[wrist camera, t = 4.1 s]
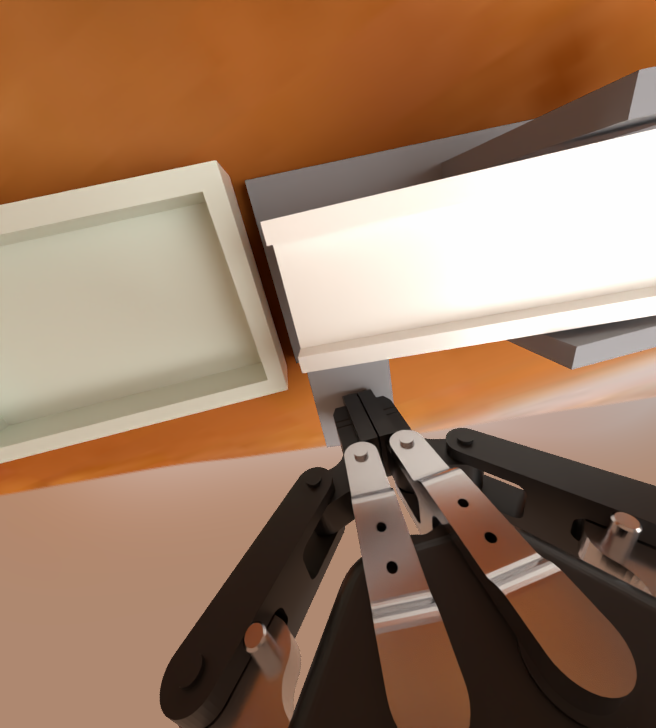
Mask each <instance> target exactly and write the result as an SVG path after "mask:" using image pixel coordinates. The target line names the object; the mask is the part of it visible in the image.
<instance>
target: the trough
mask: <svg viewBox="0 0 656 728" xmlns="http://www.w3.org/2000/svg"><path fill="white" fill-rule="evenodd" d="M260 223H261V227H262V230H263V234H264V237H265V241H266V245H267V246H270V245H273V247H274V251H275V255H276V259H277V262H278V266H279V270H280V273H281V277H282V281H283V285H284V288H285V292H286V296H287V300H288V303H289V307H290V311H291V314H292V318H293V322H294V326H295V329H296V333H297V337H298V340H299V344H300V348H301V349H300V352H299V356H298V360H299V363H300V367H301V370H302V373H307V374H308V378H309V381H310V385H311V389H312V393H313V396H314V400H315V404H316V407H317V411H318V415H319V419H320V422H321V426H322V430H323V433H324V437H325V441H326V445H327V447H333V446H341V445H340V441H339V438H338V434H337V430H336V426H335V421H334V417H333V414H334V411H335V408H339V407H342V406H344V403H343V398H342V396H346V395H350V394H353V393H356V394H357V392H361V391H365V390H368V389H371V390H372V392H373V393H374V395H375V397H380V396H385V397H387V398H388V399H390V400H391V401H392V402H393V394H392V385H391V377H390V368H389V359H392V358H398V357H404V356H410V355H417V354H423V353H429V352H435V351H441V350H447V349H453V348H459V347H465V346H471V345H477V344H483V343H490V342H496V341H502V340H508V339H514V338H520V337H526V336H532V335H538V334H544V333H550V332H556V331H562V330H569V329H575V328H581V327H587V326H593V325H599V324H605V323H611V322H617V321H623V320H629V319H635V318H642V317H648V316H654V315H656V129H653V130H649V131H644V132H640V133H636V134H632V135H627V136H623V137H619V138H615V139H610V140H606V141H602V142H598V143H593V144H589V145H585V146H581V147H576V148H572V149H568V150H564V151H559V152H555V153H551V154H547V155H542V156H538V157H534V158H530V159H525V160H521V161H517V162H513V163H508V164H504V165H500V166H496V167H491V168H487V169H483V170H479V171H474V172H470V173H466V174H462V175H457V176H453V177H449V178H445V179H441V180H436V181H432V182H428V183H424V184H419V185H415V186H411V187H407V188H402V189H398V190H394V191H390V192H385V193H381V194H377V195H373V196H368V197H364V198H360V199H356V200H351V201H347V202H343V203H339V204H334V205H330V206H326V207H322V208H317V209H313V210H309V211H305V212H300V213H296V214H292V215H288V216H283V217H279V218H275V219H271V220H266V221H262V222H260ZM393 404H394V403H393Z"/></svg>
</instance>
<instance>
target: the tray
mask: <svg viewBox="0 0 656 728" xmlns="http://www.w3.org/2000/svg"><path fill="white" fill-rule="evenodd" d="M285 390H288V376H287V364H286V361H285V358H284V354H283V351H282V348H281V345H280V341H279V338H278V335H277V331H276V328H275V325H274V321H273V318H272V315H271V311H270V308H269V305H268V302H267V298H266V295H265V292H264V288H263V285H262V282H261V278H260V275H259V272H258V269H257V265H256V262H255V259H254V255H253V252H252V249H251V245H250V242H249V239H248V236H247V232H246V229H245V226H244V222H243V219H242V216H241V212H240V209H239V206H238V202H237V199H236V196H235V193H234V189H233V186H232V183H231V179H230V176H229V175H228V174H227V173H226V172H225V170H224V169H223V168H222V167H221V166H220V164H219V163H218V162H217V161H216V160H215V161H210V162H205V163H200V164H195V165H190V166H186V167H181V168H176V169H171V170H166V171H162V172H157V173H152V174H147V175H142V176H138V177H133V178H128V179H123V180H118V181H113V182H109V183H104V184H99V185H94V186H89V187H85V188H80V189H75V190H70V191H65V192H60V193H56V194H51V195H46V196H41V197H36V198H32V199H27V200H22V201H17V202H12V203H7V204H3V205H0V463H4V462H8V461H12V460H16V459H20V458H24V457H27V456H31V455H35V454H39V453H43V452H47V451H51V450H55V449H59V448H62V447H66V446H70V445H74V444H78V443H82V442H86V441H90V440H94V439H98V438H101V437H105V436H109V435H113V434H117V433H121V432H125V431H129V430H133V429H137V428H140V427H144V426H148V425H152V424H156V423H160V422H164V421H168V420H172V419H175V418H179V417H183V416H187V415H191V414H195V413H199V412H203V411H207V410H211V409H214V408H218V407H222V406H226V405H230V404H234V403H238V402H242V401H246V400H250V399H253V398H257V397H261V396H265V395H269V394H273V393H277V392H281V391H285Z"/></svg>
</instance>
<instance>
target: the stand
mask: <svg viewBox="0 0 656 728" xmlns="http://www.w3.org/2000/svg"><path fill="white" fill-rule="evenodd" d="M653 129H656V67H651V68H646V69H642V70H638V71H636V72H634V73H632V74H630V75H627V76H625V77H623V78H621V79H619V80H617V81H615V82H613V83H610V84H608V85H606V86H604V87H602V88H600V89H598V90H596V91H593V92H591V93H589V94H587V95H585V96H583V97H581V98H579V99H576V100H574V101H572V102H570V103H568V104H566V105H564V106H561V107H559V108H557V109H555V110H553V111H551V112H549V113H547V114H544V115H542V116H540V117H538V118H536V119H532V120H527V121H523V122H518V123H513V124H508V125H504V126H499V127H494V128H490V129H485V130H480V131H476V132H471V133H466V134H462V135H457V136H452V137H447V138H443V139H438V140H433V141H429V142H424V143H419V144H415V145H410V146H405V147H400V148H396V149H391V150H386V151H382V152H377V153H372V154H368V155H363V156H358V157H353V158H349V159H344V160H339V161H335V162H330V163H325V164H321V165H316V166H311V167H307V168H302V169H297V170H292V171H288V172H283V173H278V174H274V175H269V176H264V177H260V178H255V179H250V180H245V183H246V187H247V190H248V194H249V197H250V201H251V205H252V208H253V212H254V215H255V219H256V222H257V226H258V229H259V233H260V236H261V240H262V243H263V247H264V250H265V254H266V257H267V261H268V264H269V268H270V271H271V275H272V279H273V282H274V286H275V289H276V293H277V296H278V300H279V303H280V307H281V310H282V314H283V317H284V321H285V324H286V328H287V331H288V335H289V338H290V342H291V346H292V349H293V353H294V356H295V360H296V363H299V360H298V356H299V352H300V349H301V348H300V344H299V340H298V337H297V333H296V329H295V326H294V322H293V318H292V314H291V311H290V307H289V303H288V300H287V296H286V292H285V288H284V285H283V281H282V277H281V273H280V270H279V266H278V262H277V259H276V255H275V251H274V247H273V245H270V246H267V245H266V241H265V237H264V234H263V230H262V227H261V223H260V222H262V221H266V220H271V219H275V218H279V217H283V216H288V215H292V214H296V213H300V212H305V211H309V210H313V209H317V208H322V207H326V206H330V205H334V204H339V203H343V202H347V201H351V200H356V199H360V198H364V197H368V196H373V195H377V194H381V193H385V192H390V191H394V190H398V189H402V188H407V187H411V186H415V185H419V184H424V183H428V182H432V181H436V180H441V179H445V178H449V177H453V176H457V175H462V174H466V173H470V172H474V171H479V170H483V169H487V168H491V167H496V166H500V165H504V164H508V163H513V162H517V161H521V160H525V159H530V158H534V157H538V156H542V155H547V154H551V153H555V152H559V151H564V150H568V149H572V148H576V147H581V146H585V145H589V144H593V143H598V142H602V141H606V140H610V139H615V138H619V137H623V136H627V135H632V134H636V133H640V132H644V131H649V130H653ZM507 341H510V342H512V343H514V344H516V345H518V346H521V347H523V348H525V349H527V350H530V351H532V352H534V353H536V354H538V355H541V356H543V357H545V358H547V359H549V360H552V361H554V362H556V363H558V364H561V365H563V366H565V367H567V368H569V369H575V368H579V367H583V366H587V365H590V364H594V363H598V362H602V361H605V360H609V359H613V358H617V357H620V356H624V355H628V354H631V353H635V352H639V351H643V350H646V349H650V348H654V347H656V315H654V316H648V317H642V318H635V319H629V320H623V321H617V322H611V323H605V324H599V325H593V326H587V327H581V328H575V329H569V330H562V331H556V332H550V333H544V334H538V335H532V336H526V337H520V338H514V339H508V340H507Z"/></svg>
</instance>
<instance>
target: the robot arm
mask: <svg viewBox="0 0 656 728" xmlns="http://www.w3.org/2000/svg"><path fill="white" fill-rule="evenodd" d="M342 398H343V403H344V406H342V407H339V408H335V411H334V414H333V417H334V421H335V426H336V430H337V434H338V438H339V441H340V445H341V448H342V452H343V457H342V460H341V461H340V462H339V463H338V464H337V465H336V466H335V467H334V468H332V469H330V470H327V469H325V468H321V467H315V468H311V469H309V470H307V471H305V472H304V473H303V474H302V475H301V476H300V477H299V479H298V480H297V481H296V483H295V484H294V485H293V487H292V488H291V490H290V491H289V493H288V494H287V495H286V497H285V498H284V500H283V501H282V503H281V504H280V505H279V507H278V508H277V510H276V511H275V512H274V514H273V515H272V517H271V518H270V520H269V521H268V522H267V524H266V525H265V527H264V528H263V530H262V531H261V532H260V534H259V535H258V537H257V538H256V539H255V541H254V542H253V544H252V545H251V547H250V548H249V550H248V551H247V552H246V554H245V555H244V556H243V558H242V559H241V561H240V562H239V564H238V565H237V566H236V568H235V569H234V571H233V572H232V573H231V575H230V576H229V578H228V579H227V580H226V582H225V583H224V585H223V586H222V588H221V589H220V590H219V592H218V593H217V595H216V596H215V598H214V599H213V600H212V602H211V603H210V605H209V606H208V607H207V609H206V610H205V612H204V613H203V615H202V616H201V617H200V619H199V620H198V622H197V623H196V624H195V626H194V627H193V629H192V630H191V631H190V633H189V634H188V636H187V637H186V639H185V640H184V641H183V643H182V644H181V646H180V647H179V649H178V650H177V651H176V653H175V654H174V656H173V657H172V659H171V661H170V663H169V664H168V666H167V669H166V671H165V674H164V676H163V680H162V683H161V688H160V705H161V709H162V711H163V713H164V714H165V716H166V717H168V718H169V719H171V720H172V721H173V722H175V723H176V724H178V726H179V728H656V486H654V485H651V484H647V483H644V482H641V481H637V480H634V479H631V478H628V477H624V476H621V475H618V474H614V473H611V472H608V471H605V470H601V469H598V468H595V467H592V466H588V465H585V464H581V463H579V462H576V461H572V460H569V459H566V458H563V457H559V456H556V455H553V454H550V453H546V452H543V451H540V450H536V449H533V448H530V447H527V446H523V445H520V444H517V443H514V442H510V441H507V440H504V439H500V438H497V437H494V436H491V435H487V434H484V433H481V432H478V431H474V430H471V429H467V428H457V429H453V430H451V431H449V432H448V433H447V435H446V439H426V438H423V437H422V436H421V435H420V434H419V433H418V432H415V431H412V430H411V429H410V427H409V426H408V424H407V423H406V421H405V420H404V418H403V417H402V416H401V414H400V413H399V412H398V410H397V408H396V407H395V405H394V404H393V402H392V401H391V400H390V399H388V398H387V397H385V396H380V397H375V395H374V393H373V392H372V390H371V389H368V390H365V391H361V392H357V394H356V393H353V394H350V395H346V396H342ZM484 472H487V473H489V474H492V475H494V476H497V477H499V478H502V479H505V480H507V481H510V482H512V483H515V484H517V485H519V486H520V487H521V488H523V489H524V490H521V489H518V488H516V487H514V486H511V485H509V484H506V483H504V482H501V481H499V480H496V479H494V478H491V477H489V476H486V475H484ZM391 475H392V476H393V478H394V480H395V484H396V490H397V493H398V494H399V496H400V498H401V500H402V501H403V503H404V505H405V507H406V509H407V510H408V512H409V514H410V516H411V517H412V519H413V521H414V523H415V525H416V526H417V528H418V530H419V532H420V535H410V534H409V531H408V528H407V525H406V523H405V520H404V517H403V514H402V511H401V509H400V506H399V503H398V500H397V498H396V495H395V492H394V490H393V488H391V487H390V484H389V482H388V479H387V477H388V476H391ZM354 519H355V522H356V527H357V532H358V538H359V544H360V549H361V555H362V557H361V558H360V559H359V560H358V561H357V562H356V563H355V564H354V565H353V566H352V567H351V568H350V570H349V571H348V573H347V574H346V576H345V578H344V580H343V582H342V584H341V587H340V589H339V592H338V594H337V597H336V600H335V603H334V605H333V608H332V611H331V613H330V616H329V619H328V621H327V624H326V627H325V629H324V632H323V635H322V638H321V640H320V643H319V645H318V648H317V651H316V654H315V656H314V659H313V662H312V664H311V667H310V670H309V672H308V675H307V678H306V681H305V683H304V686H303V688H302V691H301V694H300V697H299V699H298V702H297V705H296V708H295V710H294V709H293V701H294V692H295V687H296V683H297V680H298V677H299V673H300V667H301V655H300V650H299V647H298V645H297V642H296V641H295V637H296V635H297V632H298V631H299V628H300V626H301V624H302V622H303V620H304V617H305V615H306V613H307V611H308V609H309V607H310V605H311V602H312V600H313V598H314V596H315V594H316V592H317V589H318V587H319V585H320V583H321V581H322V579H323V576H324V574H325V572H326V570H327V568H328V566H329V563H330V561H331V559H332V557H333V555H334V552H335V550H336V548H337V546H338V544H339V542H340V540H341V537H342V535H343V533H344V530H345V526H346V525H347V524H348V523H350V522H351V521H352V520H354Z"/></svg>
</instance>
